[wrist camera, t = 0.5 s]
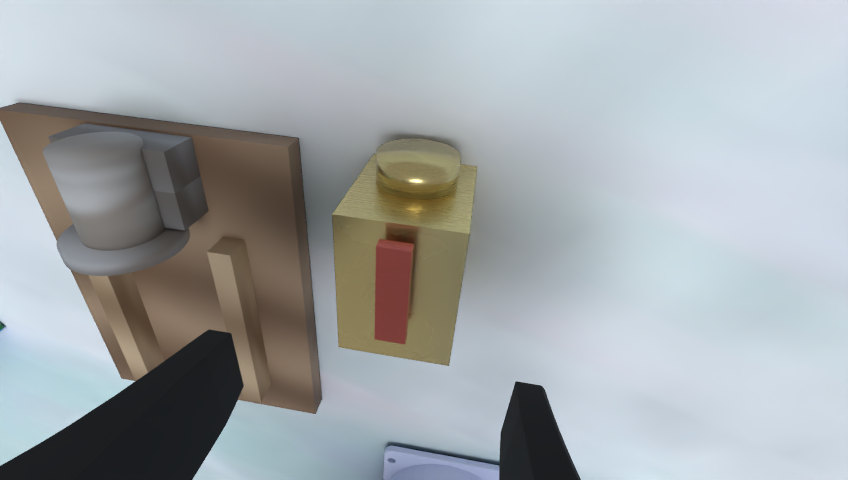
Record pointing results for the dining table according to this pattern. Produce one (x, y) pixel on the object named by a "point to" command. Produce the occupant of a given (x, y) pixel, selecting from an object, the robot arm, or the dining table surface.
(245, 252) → the pipe board
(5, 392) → the dining table surface
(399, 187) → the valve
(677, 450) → the dining table surface
